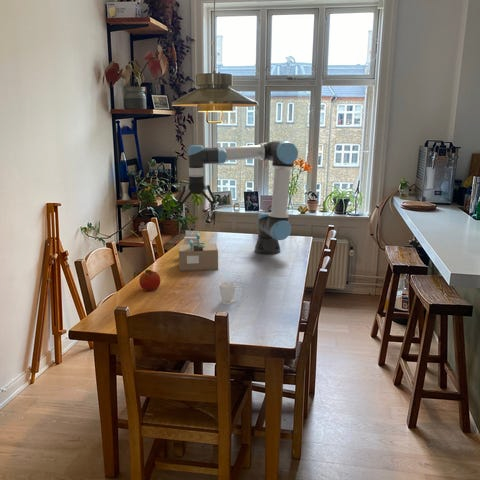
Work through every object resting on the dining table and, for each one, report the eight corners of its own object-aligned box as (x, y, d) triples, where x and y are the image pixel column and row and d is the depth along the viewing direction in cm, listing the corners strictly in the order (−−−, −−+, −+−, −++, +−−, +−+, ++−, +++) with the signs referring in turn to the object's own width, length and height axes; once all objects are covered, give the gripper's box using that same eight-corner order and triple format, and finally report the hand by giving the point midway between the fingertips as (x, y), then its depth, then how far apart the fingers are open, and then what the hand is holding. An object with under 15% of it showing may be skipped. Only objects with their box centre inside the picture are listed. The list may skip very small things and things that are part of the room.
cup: (219, 299, 201) (219, 281, 199) (242, 299, 201) (242, 281, 199) (218, 305, 195) (218, 286, 193) (242, 305, 194) (242, 286, 192)
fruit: (164, 286, 217) (163, 266, 214) (156, 293, 208) (155, 272, 205) (144, 285, 219) (143, 265, 216) (136, 292, 210) (135, 271, 207)
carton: (216, 262, 256) (216, 244, 253) (218, 269, 242) (218, 251, 240) (179, 263, 253) (179, 245, 251) (179, 271, 240) (178, 252, 237)
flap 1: (179, 252, 237) (178, 243, 236) (179, 245, 251) (178, 237, 249) (193, 252, 238) (193, 242, 237) (193, 245, 251) (193, 236, 250)
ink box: (183, 257, 265) (183, 232, 261) (185, 255, 269) (185, 230, 266) (198, 258, 264) (198, 232, 260) (200, 255, 269) (199, 230, 265)
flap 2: (215, 244, 253) (215, 232, 251) (217, 251, 240) (217, 238, 238) (196, 245, 252) (196, 232, 250) (197, 251, 239) (196, 238, 237)
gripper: (219, 174, 245) (220, 214, 250) (172, 175, 242) (173, 215, 247) (221, 176, 237) (221, 217, 242) (171, 176, 235) (173, 218, 240)
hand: (197, 216), depth 245 cm, fingers open, 13 cm apart
